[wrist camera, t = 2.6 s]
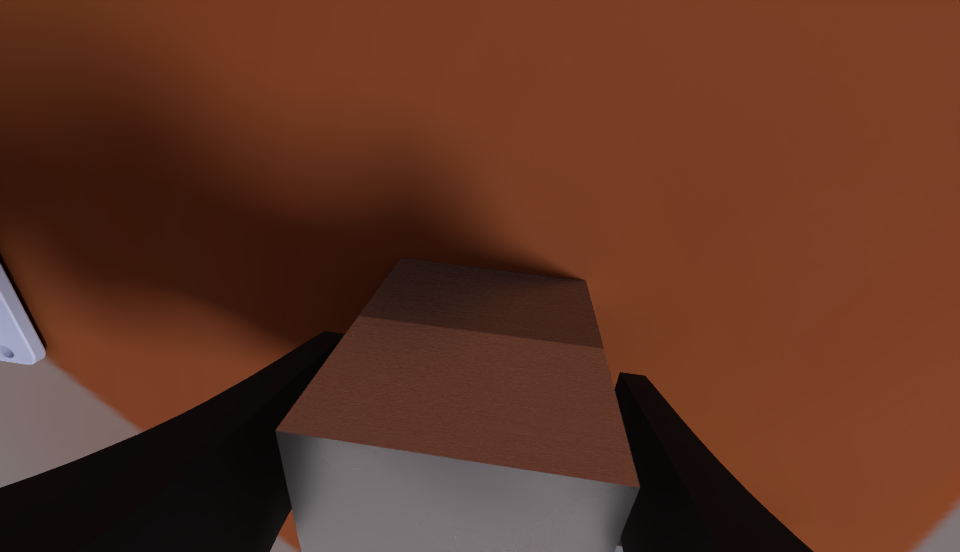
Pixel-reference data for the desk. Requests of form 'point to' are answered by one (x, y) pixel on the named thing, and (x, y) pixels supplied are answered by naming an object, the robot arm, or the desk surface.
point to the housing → (462, 422)
